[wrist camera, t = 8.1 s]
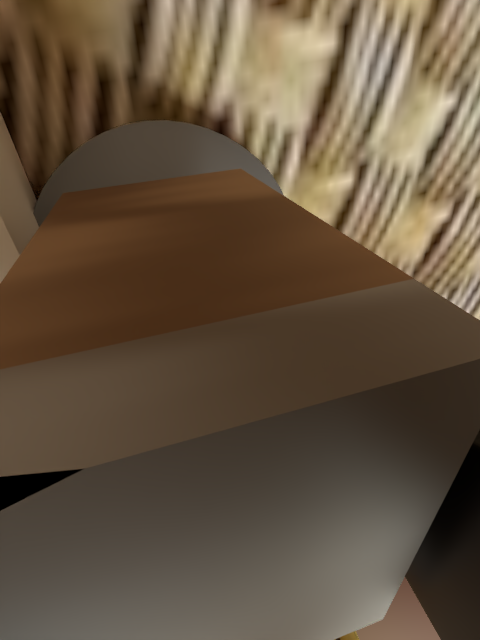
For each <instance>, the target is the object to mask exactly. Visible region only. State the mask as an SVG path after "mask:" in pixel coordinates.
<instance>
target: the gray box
mask: <svg viewBox="0 0 480 640" xmlns="http://www.w3.org/2000/svg"><path fill="white" fill-rule="evenodd" d="M479 430H480V320H478V319H477V318H475V317H473V316H472V315H470V314H469V313H467V312H466V311H464V310H462V309H461V308H459V307H458V306H456V305H455V304H453V303H451V302H450V301H448V300H447V299H445V298H444V297H442V296H440V295H439V294H437V293H436V292H434V291H433V290H431V289H429V288H428V287H426V286H425V285H423V284H422V283H420V282H418V281H417V280H415V279H414V278H412V277H411V276H409V275H407V274H406V273H404V272H403V271H401V270H400V269H398V268H396V267H395V266H393V265H392V264H390V263H389V262H387V261H385V260H384V259H382V258H381V257H379V256H378V255H376V254H374V253H373V252H371V251H370V250H368V249H367V248H365V247H363V246H362V245H360V244H359V243H357V242H356V241H354V240H352V239H351V238H349V237H348V236H346V235H345V234H343V233H341V232H340V231H338V230H337V229H335V228H334V227H332V226H330V225H329V224H327V223H326V222H324V221H323V220H321V219H319V218H318V217H316V216H315V215H313V214H312V213H310V212H308V211H307V210H305V209H304V208H302V207H301V206H299V205H297V204H296V203H294V202H293V201H291V200H289V199H288V198H286V197H285V196H283V195H282V194H280V193H278V192H277V191H275V190H274V189H272V188H271V187H269V186H267V185H266V184H264V183H263V182H261V181H260V180H258V179H256V178H255V177H253V176H252V175H250V174H249V173H247V172H245V171H244V170H242V169H241V168H240V169H233V170H226V171H219V172H212V173H204V174H197V175H190V176H183V177H176V178H168V179H161V180H154V181H147V182H139V183H132V184H125V185H118V186H111V187H103V188H96V189H89V190H82V191H75V192H67V193H63V194H62V195H61V197H60V198H59V200H58V201H57V202H56V204H55V205H54V207H53V208H52V210H51V211H50V213H49V214H48V215H47V217H46V218H45V220H44V221H43V223H42V224H41V226H40V227H39V228H38V230H37V231H36V233H35V234H34V236H33V237H32V239H31V240H30V241H29V243H28V244H27V246H26V247H25V249H24V250H23V252H22V253H21V254H20V256H19V257H18V259H17V260H16V262H15V263H14V265H13V266H12V268H11V269H10V270H9V272H8V273H7V275H6V276H5V278H4V279H3V281H2V282H1V283H0V640H334V639H337V638H339V637H342V636H344V635H346V634H349V633H351V632H354V631H356V630H358V629H361V628H363V627H366V626H368V625H371V624H373V623H375V622H378V621H380V620H382V619H383V618H384V616H385V614H386V612H387V610H388V608H389V606H390V604H391V602H392V600H393V598H394V596H395V594H396V592H397V590H398V589H399V586H400V585H401V583H402V581H403V579H404V577H405V575H406V573H407V571H408V569H409V567H410V565H411V563H412V561H413V559H414V557H415V555H416V553H417V551H418V549H419V547H420V545H421V543H422V541H423V540H424V538H425V536H426V534H427V532H428V530H429V528H430V526H431V524H432V522H433V520H434V518H435V516H436V514H437V512H438V510H439V508H440V506H441V504H442V502H443V500H444V498H445V496H446V494H447V492H448V491H449V489H450V487H451V485H452V483H453V481H454V479H455V477H456V475H457V473H458V471H459V469H460V467H461V465H462V463H463V461H464V459H465V457H466V455H467V453H468V451H469V449H470V447H471V445H472V443H473V442H474V440H475V438H476V436H477V434H478V432H479Z"/></svg>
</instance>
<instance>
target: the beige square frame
mask: <svg viewBox="0 0 480 640" xmlns="http://www.w3.org/2000/svg"><path fill="white" fill-rule="evenodd" d="M36 203H37V200H36V197H35V195H34V192H33V190H32V188H31V185H30V183H29V180H28V178H27V175H26V173H25V170H24V168H23V166H22V163H21V161H20V158H19V156H18V153H17V151H16V149H15V146H14V144H13V141H12V139H11V136H10V134H9V132H8V129H7V127H6V124H5V122H4V119H3V117H2V114H1V112H0V283H1V282H2V281H3V279H4V278H5V276H6V275H7V273H8V272H9V270H10V269H11V268H12V266H13V265H14V263H15V262H16V260H17V259H18V257H19V256H20V254H21V253H22V252H23V250H24V249H25V247H26V246H27V244H28V243H29V241H30V240H31V239H32V237H33V236H34V234H35V233H36V231H37V230H38V228H39V226H38V223H37V221H36V219H35V216H34V214H33V212H34V208H35V205H36Z"/></svg>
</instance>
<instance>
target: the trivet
mask: <svg viewBox="0 0 480 640" xmlns="http://www.w3.org/2000/svg"><path fill="white" fill-rule="evenodd" d="M240 168H241V169H242V170H244V171H245V172H247V173H249V174H250V175H252V176H253V177H255V178H256V179H258V180H260V181H261V182H263V183H264V184H266V185H267V186H269V187H271V188H272V189H274V190H275V191H277V192H278V193H280V194H282V195H283V193H282V191H281V189H280V187H279V185H278V184H277V182H276V181H275V179H274V178H273V176H272V175H271V173H270V172H269V171H268V170H267V169H266V168H265V166H264V165H263V164H262V163H261V162H260V161H259V160H258V159H257V158H256V157H255V156H254V155H252V154H251V153H250V152H249V151H248V150H246V149H245V148H244V147H243V146H241V145H239V144H238V143H236V142H234V141H233V140H231V139H230V138H228V137H226V136H224V135H222V134H219V133H217V132H215V131H212V130H210V129H208V128H205V127H202V126H198V125H195V124H191V123H187V122H182V121H174V120H165V119H164V120H143V121H137V122H132V123H127V124H123V125H120V126H117V127H114V128H112V129H109V130H106V131H104V132H102V133H100V134H98V135H97V136H95V137H93V138H91V139H89V140H88V141H86V142H85V143H84V144H82V145H81V146H80V147H78V148H77V149H76V150H75V151H73V152H72V153H71V154H70V155H69V156H68V157H67V158H66V159H65V160H64V161H63V162H62V163H61V164H60V165H59V167H58V168H57V169H56V170H55V171H54V172H53V174H52V175H51V177H50V178H49V180H48V181H47V183H46V184H45V186H44V187H43V189H42V191H41V194H40V196H39V198H38V200H37V203H36V205H35V208H34V212H33V214H34V216H35V219H36V221H37V223H38V226H39V227H40V226H41V224H42V223H43V221H44V220H45V218H46V217H47V215H48V214H49V213H50V211H51V210H52V208H53V207H54V205H55V204H56V202H57V201H58V200H59V198H60V197H61V195H62V194H63V193H67V192H75V191H82V190H89V189H96V188H103V187H111V186H118V185H125V184H132V183H139V182H147V181H154V180H161V179H168V178H176V177H183V176H190V175H197V174H204V173H212V172H219V171H226V170H233V169H240ZM283 196H284V195H283Z"/></svg>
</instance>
